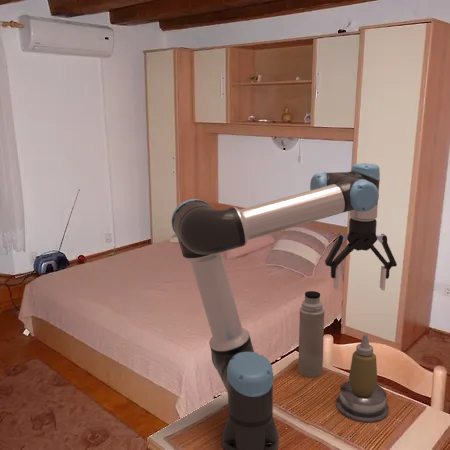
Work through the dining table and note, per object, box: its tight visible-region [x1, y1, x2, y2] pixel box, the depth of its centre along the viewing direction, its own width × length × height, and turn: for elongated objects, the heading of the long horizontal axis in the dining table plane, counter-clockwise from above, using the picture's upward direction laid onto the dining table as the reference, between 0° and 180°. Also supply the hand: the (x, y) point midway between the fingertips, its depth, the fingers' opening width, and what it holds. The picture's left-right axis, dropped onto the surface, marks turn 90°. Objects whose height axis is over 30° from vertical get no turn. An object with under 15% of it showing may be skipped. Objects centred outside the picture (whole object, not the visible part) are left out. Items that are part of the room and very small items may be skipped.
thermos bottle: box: [297, 290, 325, 378], centre depth 162 cm, size 8×8×28 cm
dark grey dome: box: [335, 380, 390, 424], centre depth 145 cm, size 15×15×5 cm
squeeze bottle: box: [348, 334, 378, 397], centre depth 142 cm, size 8×8×18 cm
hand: (358, 288), depth 145 cm, fingers open, 13 cm apart
